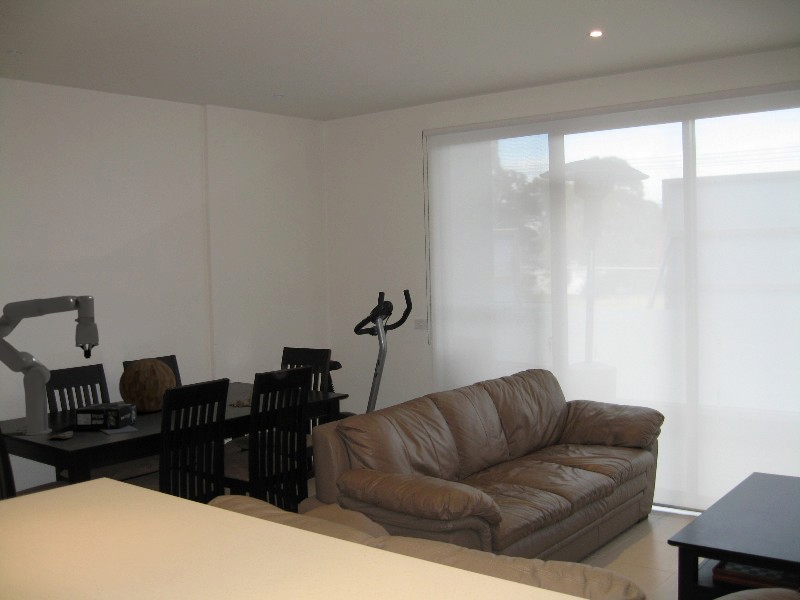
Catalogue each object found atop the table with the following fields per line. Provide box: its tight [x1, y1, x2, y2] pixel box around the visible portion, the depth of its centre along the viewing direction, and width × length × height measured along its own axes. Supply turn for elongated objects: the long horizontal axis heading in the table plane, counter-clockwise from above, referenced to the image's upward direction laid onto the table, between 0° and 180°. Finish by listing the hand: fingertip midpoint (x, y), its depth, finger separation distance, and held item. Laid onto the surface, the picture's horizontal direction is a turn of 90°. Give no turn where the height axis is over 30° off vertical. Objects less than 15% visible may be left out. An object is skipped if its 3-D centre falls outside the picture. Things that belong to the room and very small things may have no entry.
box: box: [74, 402, 138, 430], centre depth 392 cm, size 23×10×19 cm
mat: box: [98, 425, 140, 436], centre depth 384 cm, size 14×25×1 cm, turn 35°
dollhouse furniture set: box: [228, 391, 254, 407], centre depth 447 cm, size 13×13×11 cm
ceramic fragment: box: [48, 430, 74, 439], centre depth 366 cm, size 11×3×10 cm
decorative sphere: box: [118, 357, 177, 413], centre depth 434 cm, size 30×30×30 cm
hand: (87, 358), depth 384 cm, fingers closed
